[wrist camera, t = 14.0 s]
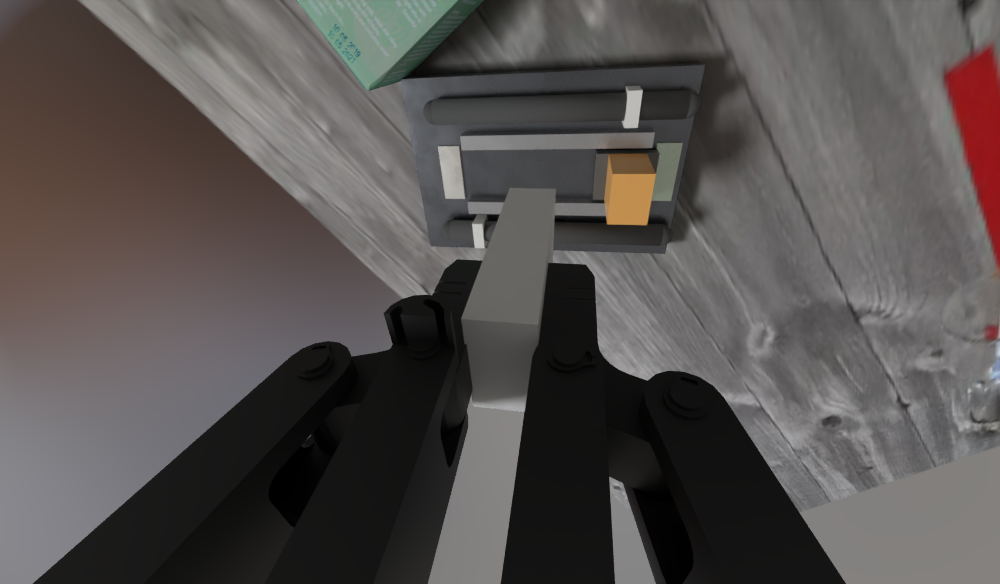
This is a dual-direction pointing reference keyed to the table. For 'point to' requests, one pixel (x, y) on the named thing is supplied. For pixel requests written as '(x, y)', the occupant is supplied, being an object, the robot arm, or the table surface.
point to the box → (386, 33)
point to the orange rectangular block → (625, 184)
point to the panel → (541, 147)
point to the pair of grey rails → (566, 110)
